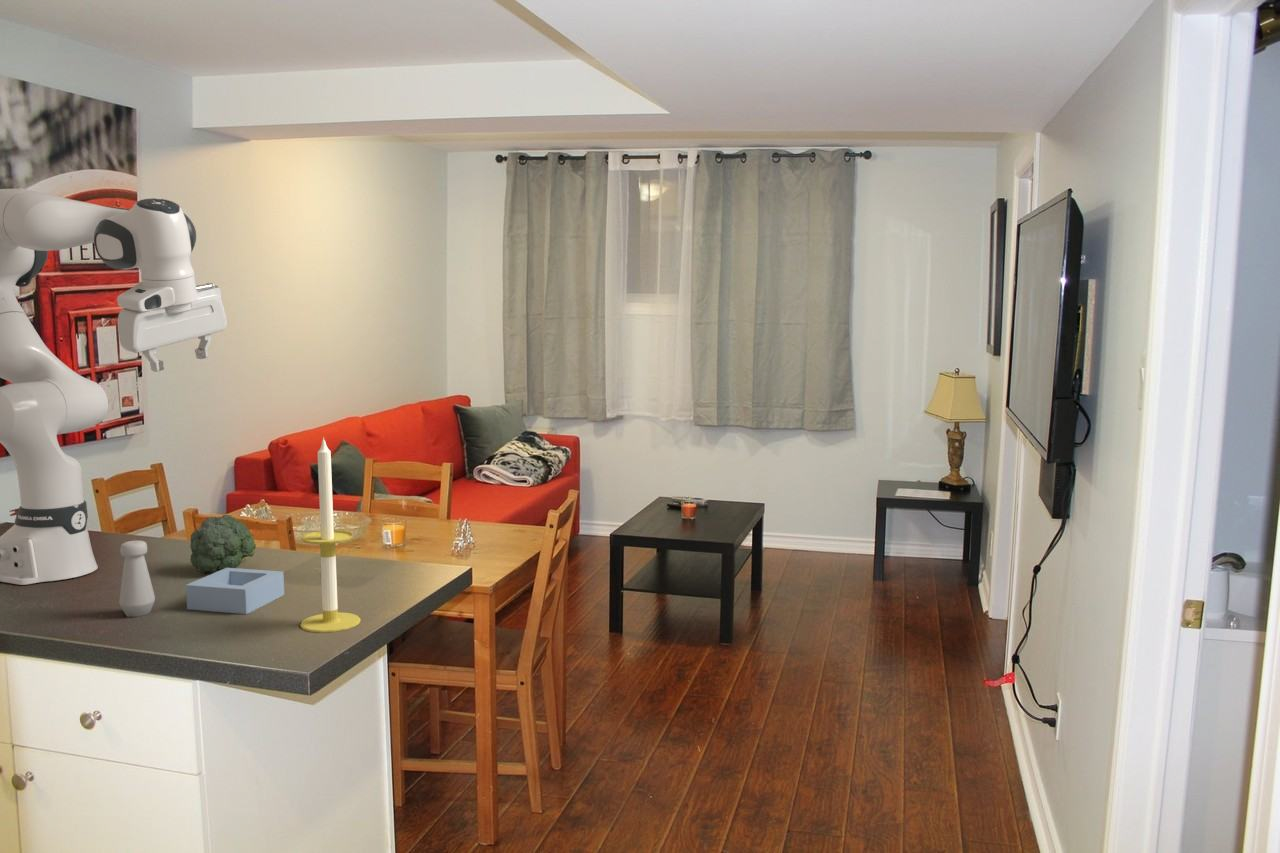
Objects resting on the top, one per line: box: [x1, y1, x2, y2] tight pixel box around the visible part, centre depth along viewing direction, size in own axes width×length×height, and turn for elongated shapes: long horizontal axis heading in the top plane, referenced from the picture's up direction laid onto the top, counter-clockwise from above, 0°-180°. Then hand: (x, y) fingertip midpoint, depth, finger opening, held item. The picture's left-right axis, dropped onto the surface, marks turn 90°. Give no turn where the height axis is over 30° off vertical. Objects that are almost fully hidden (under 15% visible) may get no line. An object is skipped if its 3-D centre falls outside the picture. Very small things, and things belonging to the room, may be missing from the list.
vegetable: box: [189, 514, 257, 575], centre depth 211 cm, size 12×13×15 cm
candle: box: [300, 436, 361, 634], centre depth 175 cm, size 10×10×32 cm
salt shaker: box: [118, 540, 156, 618], centre depth 182 cm, size 6×6×13 cm
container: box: [185, 567, 285, 615], centre depth 189 cm, size 12×12×4 cm
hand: (180, 364), depth 192 cm, fingers open, 8 cm apart
